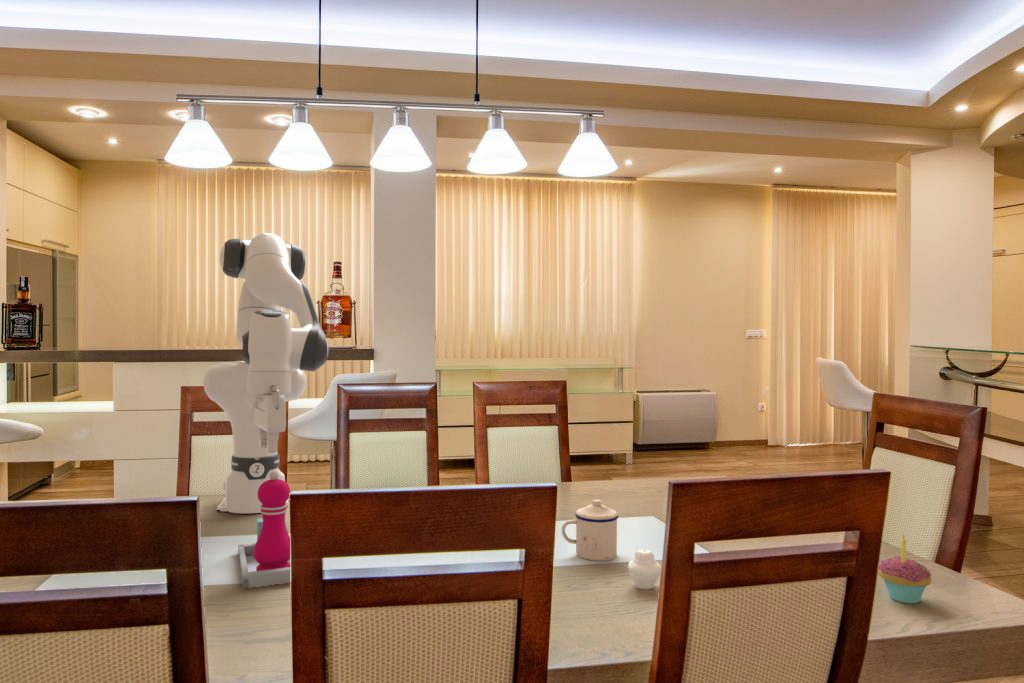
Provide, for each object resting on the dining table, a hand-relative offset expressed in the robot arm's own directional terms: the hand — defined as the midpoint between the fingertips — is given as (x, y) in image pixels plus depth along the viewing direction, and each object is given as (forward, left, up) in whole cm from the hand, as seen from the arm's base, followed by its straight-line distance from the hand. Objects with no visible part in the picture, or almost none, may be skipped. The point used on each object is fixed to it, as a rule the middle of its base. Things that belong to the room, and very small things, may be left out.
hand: (268, 450), depth 145 cm
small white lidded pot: (+48, +63, -22) cm, 82 cm away
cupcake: (+71, +103, -22) cm, 127 cm away
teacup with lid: (+28, +63, -22) cm, 72 cm away
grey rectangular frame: (+10, 0, -22) cm, 24 cm away
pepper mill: (+15, 0, -22) cm, 26 cm away
